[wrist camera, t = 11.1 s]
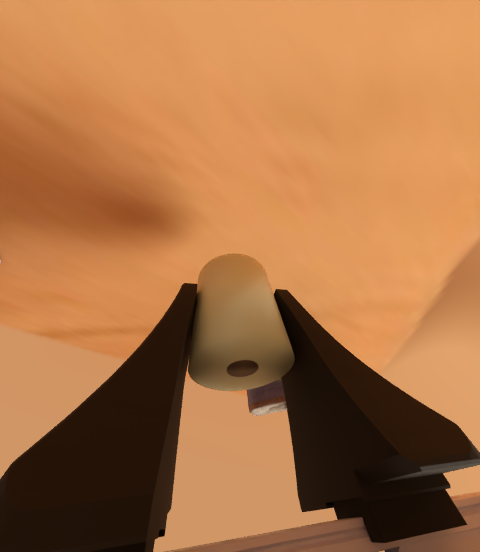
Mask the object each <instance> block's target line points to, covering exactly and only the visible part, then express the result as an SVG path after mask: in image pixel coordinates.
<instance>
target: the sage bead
mask: <svg viewBox="0 0 480 552" xmlns="http://www.w3.org/2000/svg"><path fill="white" fill-rule="evenodd" d="M294 360H295V356H294V353H293V350H292V347H291V344H290V341H289V338H288V335H287V332H286V329H285V326H284V324H283V321H282V318H281V315H280V312H279V309H278V306H277V303H276V300H275V297H274V295H273V292H272V289H271V286H270V283H269V280H268V277H267V274H266V272H265V269H264V268H263V266H262V265H261V264H260V263H259V262H258V261H257V260H255V259H254V258H252V257H249V256H246V255H242V254H227V255H222V256H219V257H217V258H215V259H213V260H211V261H210V262H208V263H207V264H206V265H205V266H204V267H203V269H202V270H201V272H200V274H199V278H198V285H197V298H196V307H195V314H194V321H193V330H192V338H191V347H190V356H189V365H188V372H189V375H190V377H191V378H192V379H193V380H194V381H195V382H196V383H198V384H200V385H202V386H204V387H206V388H210V389H215V390H222V391H240V390H248V389H253V388H257V387H261V386H264V385H267V384H269V383H272V382H274V381H276V380H278V379H279V378H281V377H282V376H284V375H285V374H286V373H287V372H288V371H289V370H290V369H291V368H292V366H293V364H294Z"/></svg>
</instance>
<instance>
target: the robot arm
mask: <svg viewBox="0 0 480 552" xmlns="http://www.w3.org/2000/svg"><path fill="white" fill-rule="evenodd" d="M0 263H1V260H0ZM274 297H275V300H276V303H277V306H278V309H279V312H280V315H281V318H282V321H283V324H284V326H285V329H286V332H287V335H288V338H289V341H290V344H291V347H292V350H293V353H294V356H295V360H294V364H293V366H292V368H291V369H290V370H289V371H288V372H287V373H286V374H285V375H284V376H282V377H281V380H282V384H283V389H284V395H285V400H286V406H287V412H288V418H289V424H290V431H291V437H292V445H293V453H294V462H295V470H296V479H297V490H298V497H299V501H300V506H301V510H302V512H307V511H314V510H320V509H327V508H333V507H334V510H335V513H336V516H337V519H338V520H334V521H329V522H324V523H318V524H312V525H307V526H301V527H296V528H291V529H285V530H280V531H274V532H269V533H263V534H258V535H253V536H247V537H242V538H237V539H231V540H226V541H220V542H215V543H210V544H204V545H198V546H193V547H188V548H182V549H177V550H172V551H167V552H378V551H383V550H385V552H480V492H477V493H469V494H463V495H457V496H452V497H450V496H449V495H448V493H447V491H446V490H445V489H447V488H450V484H449V482H448V481H447V479H446V478H445V476H444V475H443V473H445V472H450V471H455V470H459V469H464V468H468V467H472V466H476V465H480V452H479V451H478V450H477V449H476V448H475V446H474V445H473V444H472V442H471V441H470V440H469V439H468V437H467V436H466V435H465V434H464V432H463V431H462V430H461V429H460V428H459V426H458V425H456V424H455V423H453V422H452V421H450V420H448V419H447V418H445V417H444V416H442V415H440V414H439V413H437V412H435V411H433V410H432V409H430V408H429V407H427V406H425V405H424V404H422V403H421V402H419V401H417V400H416V399H414V398H412V397H411V396H410V395H408V394H406V393H405V392H404V391H402V390H400V389H399V388H398V387H396V386H394V385H393V384H391V383H390V382H389V381H387V380H386V379H384V378H383V377H382V376H380V375H379V374H378V373H376V372H375V371H374V370H372V369H371V368H370V367H368V366H367V365H365V364H364V363H363V362H362V361H360V360H359V359H358V358H357V357H355V356H354V355H353V354H352V353H351V352H349V351H348V350H347V349H346V348H345V347H343V346H342V345H341V344H340V343H339V342H338V341H336V340H335V339H334V338H333V337H332V336H331V335H330V334H329V333H328V332H327V331H326V330H325V329H324V328H323V327H322V326H321V325H320V324H319V323H318V322H317V321H316V320H315V319H314V318H313V317H312V316H311V315H310V314H309V313H308V312H307V311H306V310H305V309H304V308H303V307H302V305H301V304H300V303H299V302H298V301H297V300H296V299H295V298H294V297H293V296H292V295H291V294H290V293H289V292H288V291H287V290H281V289H276V290H275V293H274ZM196 298H197V284H190V283H184V284H183V285H182V286H181V289H180V291H179V293H178V294H177V296H176V298H175V299H174V301H173V303H172V304H171V306H170V307H169V309H168V310H167V312H166V313H165V315H164V316H163V318H162V319H161V320H160V322H159V323H158V324H157V325H156V327H155V328H154V329H153V331H152V332H151V333H150V334H149V336H148V337H147V338H146V339H145V340H144V342H143V343H142V344H141V345H140V346H139V347H138V348H137V350H136V351H135V352H134V353H133V354H132V355H131V356H130V357H129V358H128V359H127V360H126V361H125V362H124V363H123V364H122V366H121V367H120V368H119V369H118V370H117V371H116V372H115V373H114V374H113V375H112V376H111V377H110V378H109V379H108V380H107V381H106V382H104V383H103V384H102V385H101V386H100V387H99V388H98V389H97V390H96V391H95V392H94V393H93V394H91V395H90V396H89V397H88V398H87V399H86V400H85V401H84V402H83V403H82V404H81V405H80V406H79V407H78V408H76V409H75V410H74V411H73V412H72V413H71V414H70V415H68V416H67V417H66V418H65V419H64V420H63V421H61V422H60V423H59V424H58V425H57V426H55V427H54V428H53V429H52V430H51V431H50V432H48V433H47V434H46V435H45V436H44V437H42V438H41V439H40V440H39V441H38V442H36V443H35V444H34V445H33V446H32V447H30V448H29V449H28V450H27V451H26V452H25V453H23V454H22V455H21V456H20V457H18V458H17V459H16V460H15V461H14V462H13V463H12V464H11V465H10V466H9V468H8V469H7V471H6V472H5V473H4V475H3V476H2V478H1V479H0V552H153V548H154V541H155V539H157V538H158V537H162V536H164V535H165V528H166V520H167V514H168V512H169V511H170V509H171V503H172V493H173V484H174V474H175V473H174V472H175V463H176V454H177V445H178V435H179V426H180V417H181V408H182V398H183V389H184V382H185V376H186V371H187V366H188V360H189V355H190V347H191V338H192V330H193V321H194V314H195V307H196Z"/></svg>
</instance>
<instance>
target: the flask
mask: <svg viewBox="0 0 480 552" xmlns="http://www.w3.org/2000/svg"><path fill="white" fill-rule="evenodd" d="M247 396H248V406H249V411H250V413H252V414H253V415H256V416H257V415H258V416H259V415H265V414H268V413H273V412H279V411H283V410H287V406H286V400H285V395H284V389H283V384H282V380H281V378H279V379H278V380H276V381H274V382H272V383H269V384H267V385H264V386H261V387H257V388H253V389H248V390H247Z"/></svg>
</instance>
